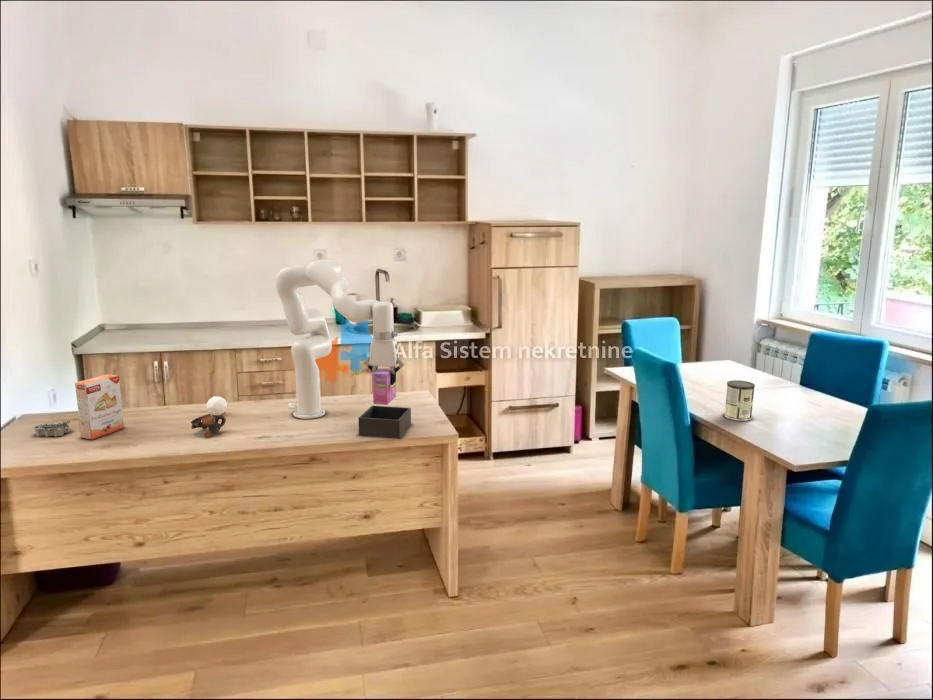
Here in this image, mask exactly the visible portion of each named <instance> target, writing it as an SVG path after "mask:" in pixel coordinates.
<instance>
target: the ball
mask: <svg viewBox="0 0 933 700" xmlns="http://www.w3.org/2000/svg"><path fill="white" fill-rule="evenodd" d="M205 404H206V405H205V406H206V408H205V409H206V411H207V412H208V414H211V416H219V415H223V414H224V413H225V412H226V410H227V409H228V402H227V401H226V399H225V398H223V397H221V396H212V397H211V398H209V399H208V401H207V402H206V403H205Z"/></svg>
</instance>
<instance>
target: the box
mask: <svg viewBox="0 0 933 700" xmlns="http://www.w3.org/2000/svg"><path fill="white" fill-rule="evenodd" d="M391 374H392V372H391V369H390V367H384V366H380V367H378V369H377V371H375V372H374V373H372V404H373V405H378V406H388V405H389V404H391V402H393V400H394V399H396V398H397V390H396V389H397V383H396V382H397V381H396V382H395V383H394V384H393V385H391Z"/></svg>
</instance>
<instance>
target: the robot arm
mask: <svg viewBox="0 0 933 700" xmlns="http://www.w3.org/2000/svg"><path fill="white" fill-rule="evenodd" d="M342 274H343V271H342V267H341V264H340V263H339V262H338V261H337V260H335V259H331V258H327V259H316V260H313V261H311V262H310V263H308V264H298V265H290V266H287V267H283V268H282V269H281V270H279V271H278V273H277V275H276V277H275V289H276V293H277V295H278V296H279V299H280V302H281V305H282V307H283V312H284V316H285V319H286V324H287V326H288V329H289V331H290V333H291V334H292V335H295V336H302V335H306V334H309V336H305V337H302V338H299V339H297V340H295V341H294V342H293V343H292V345H291V349H290V351H291V357H292V360H293V365H294V366H293V367H294V377H295V395H296V402H295V403H294V402H288V404H287V407H288V409H289V410H293V414H292V415H293V417H294V418H297V419H303V420H308V419H317V418H322V417H323V416H324V415H325V414H326V409H325V408H323V407H322V393H321V375H320V368H319V366H318V364H317V362H316V360H319V359H322V358H325V357H327V356H329V355H330V353H331V352H332V349H333V344H332V343H333V342H332V338H331V335H330V331H329V327H328V324H327V320H326V317H325V315H324V314H323V313H322V311H321V310H319V309H318V308H308V307H307V305H306V301H305V298H304V297H303V295H302V293H301V292H300V291H299V290H298V288H305V287H313V286H318V287H319V288H320V289H321V290H323V292H325V293H326V294H327V295H328V296H330V298H331V302H332V304H333V307H334V308H335V310H336V311H337V312H338V313H339V315H341V316H343V318H344V319H346V320H348V321H350V322H352V323H356V324H357V323H362V322H366V321H372V339H371V341H370V347H369V356H368V357H367V359H366V360H365V361H364V362H363V364H364V366H366V367H367V368H368V370H369V371H370V372H371V373H372V374H373V373H374V372H375V371H377V370H378V369H379V367H390V369H391V372H392V374H391V385H393V384H394V383H395V382H397V373H398V371H400V370H401V369H402V368H403V367H404V366H405V363H404V362H403V360H402V359H401V358H400V356H399V347H398V341H397V337H398V332H395V328H394V326H395V325H394V322H395V321H394V305H393V303H392V302H390V301H379V300H376V299H372V298H371V299H369V298H368V299H363V300H357V301H354V300H353V299H352V298H351V297H350V296H348V295H347V294H346V292H347V290H348V287H349V282H348V280H347V279H346V278H345V277H344V276H342ZM395 337H396V338H395Z"/></svg>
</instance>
